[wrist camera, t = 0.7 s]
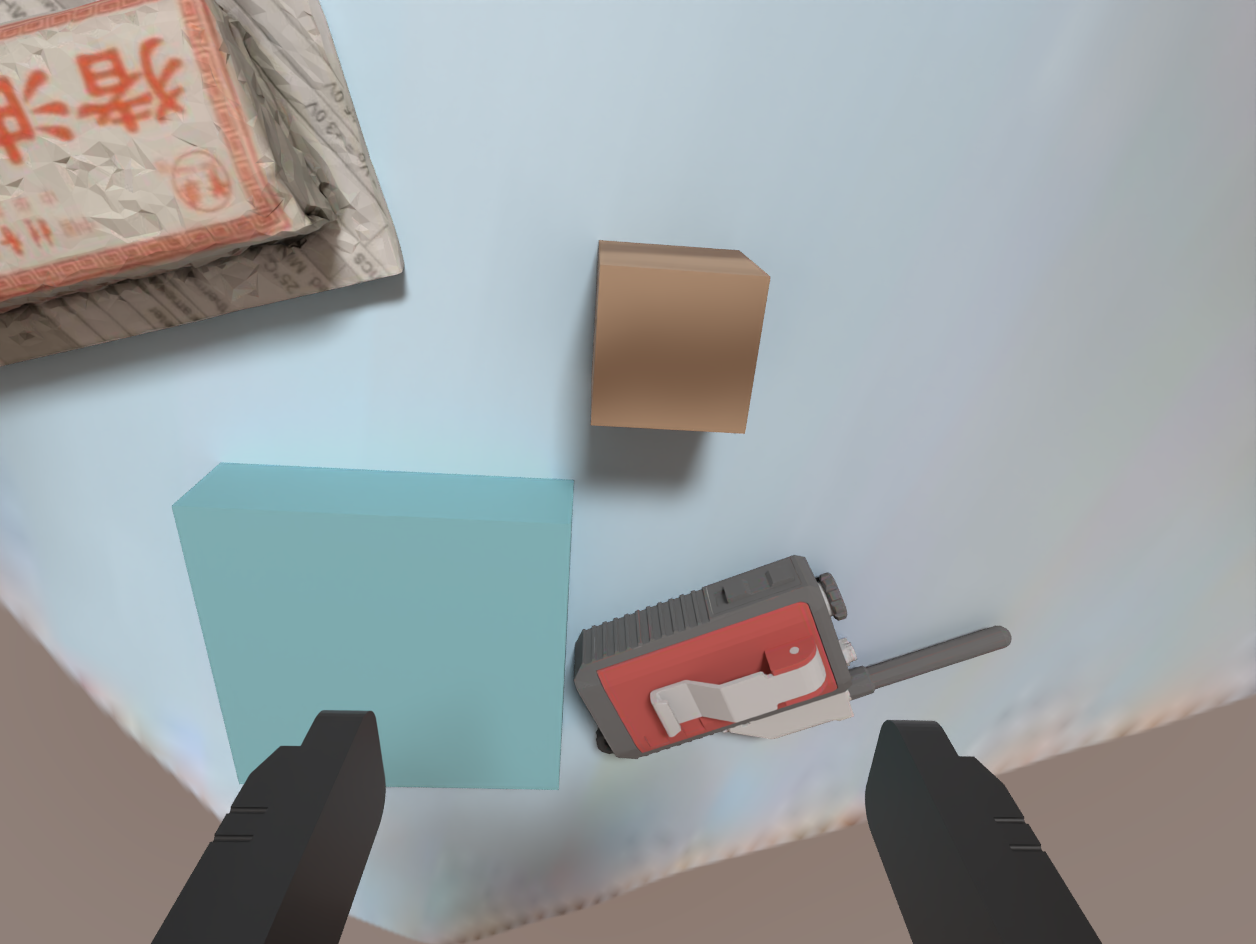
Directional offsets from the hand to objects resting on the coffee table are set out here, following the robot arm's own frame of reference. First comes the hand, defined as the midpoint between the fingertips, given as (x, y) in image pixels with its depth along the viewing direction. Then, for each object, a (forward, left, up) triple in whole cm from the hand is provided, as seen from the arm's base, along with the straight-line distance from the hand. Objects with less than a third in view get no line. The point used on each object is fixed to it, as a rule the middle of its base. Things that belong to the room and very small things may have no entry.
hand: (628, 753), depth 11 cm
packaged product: (-6, -17, -18) cm, 26 cm away
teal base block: (+11, -8, -18) cm, 23 cm away
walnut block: (-3, +2, -18) cm, 18 cm away
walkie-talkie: (+12, +9, -18) cm, 23 cm away
